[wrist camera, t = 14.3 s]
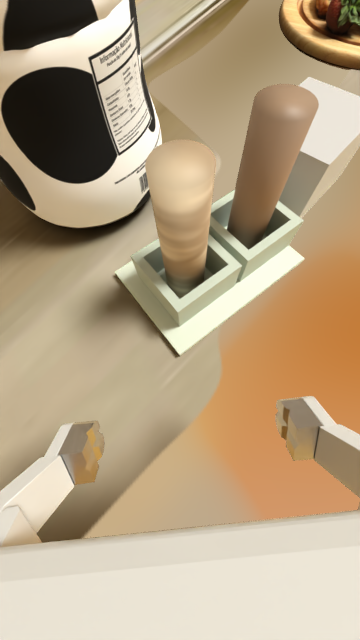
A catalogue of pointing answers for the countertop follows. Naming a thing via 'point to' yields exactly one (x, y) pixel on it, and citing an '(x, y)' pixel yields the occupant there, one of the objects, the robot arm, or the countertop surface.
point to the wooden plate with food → (324, 30)
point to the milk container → (74, 110)
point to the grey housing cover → (323, 146)
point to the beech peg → (182, 209)
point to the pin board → (235, 228)
